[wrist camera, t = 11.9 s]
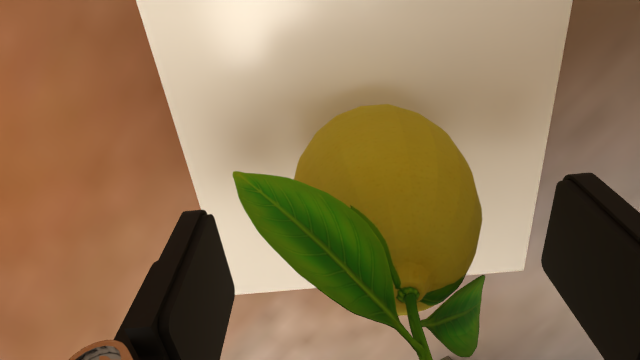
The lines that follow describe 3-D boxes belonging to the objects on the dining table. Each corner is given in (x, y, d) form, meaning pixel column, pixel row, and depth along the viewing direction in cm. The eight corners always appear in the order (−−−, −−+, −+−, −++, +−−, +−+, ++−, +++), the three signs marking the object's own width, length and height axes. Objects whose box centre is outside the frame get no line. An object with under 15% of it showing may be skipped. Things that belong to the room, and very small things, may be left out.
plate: (567, -84, 13) (588, -86, 12) (512, 253, 20) (523, 270, 19) (142, -29, 14) (127, -26, 13) (232, 277, 21) (227, 295, 20)
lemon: (264, 80, 14) (193, 279, 6) (430, 43, 14) (628, 199, 5) (307, 230, 18) (304, 502, 9) (444, 204, 17) (580, 466, 8)
